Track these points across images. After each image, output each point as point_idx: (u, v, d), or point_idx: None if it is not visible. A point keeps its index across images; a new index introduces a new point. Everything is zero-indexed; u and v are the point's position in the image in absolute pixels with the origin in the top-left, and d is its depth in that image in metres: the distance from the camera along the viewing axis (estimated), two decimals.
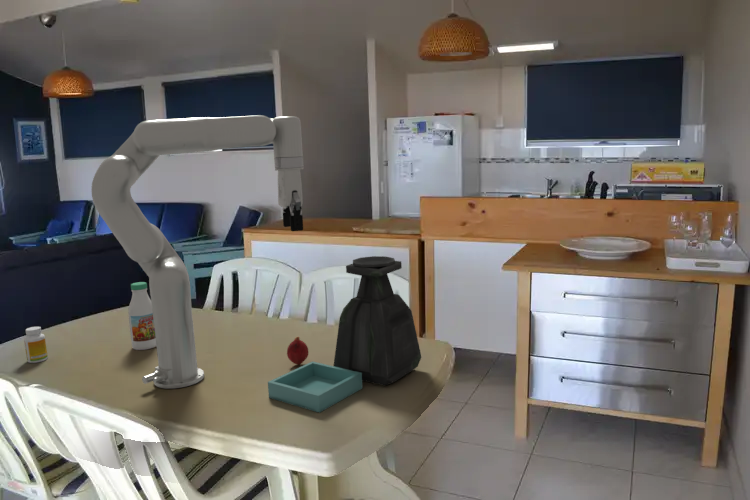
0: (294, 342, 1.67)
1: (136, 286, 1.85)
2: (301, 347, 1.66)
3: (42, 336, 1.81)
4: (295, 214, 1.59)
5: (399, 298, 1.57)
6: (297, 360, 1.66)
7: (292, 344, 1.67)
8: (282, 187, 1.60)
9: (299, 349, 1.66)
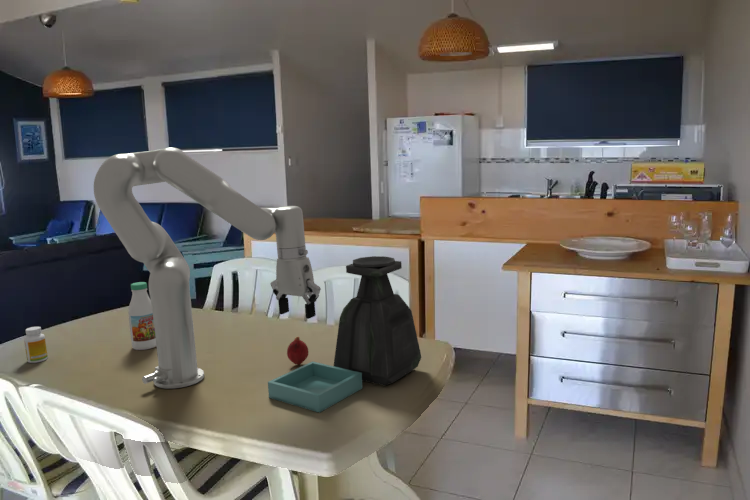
0: (294, 342, 1.67)
1: (136, 286, 1.85)
2: (301, 347, 1.66)
3: (42, 336, 1.81)
4: None
5: (399, 298, 1.57)
6: (297, 360, 1.66)
7: (292, 344, 1.67)
8: None
9: (299, 348, 1.66)
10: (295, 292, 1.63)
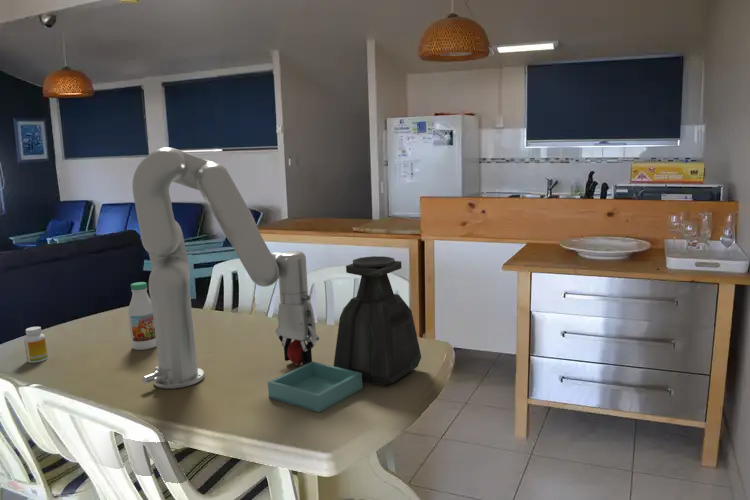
0: (294, 342, 1.67)
1: (136, 286, 1.85)
2: (301, 347, 1.66)
3: (42, 336, 1.81)
4: None
5: (399, 298, 1.57)
6: (297, 360, 1.66)
7: (292, 344, 1.67)
8: None
9: (299, 349, 1.66)
10: (296, 336, 1.65)
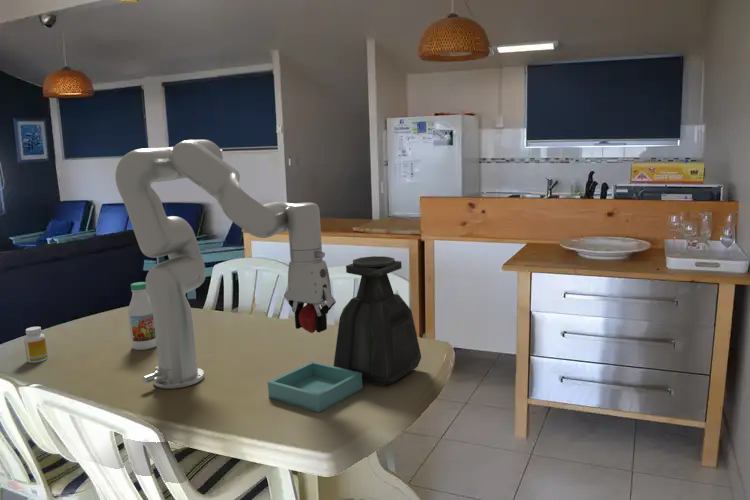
0: (307, 307, 1.47)
1: (136, 286, 1.85)
2: (315, 312, 1.46)
3: (42, 336, 1.81)
4: None
5: (399, 298, 1.57)
6: (311, 327, 1.46)
7: (304, 309, 1.47)
8: None
9: (313, 313, 1.46)
10: (310, 299, 1.44)
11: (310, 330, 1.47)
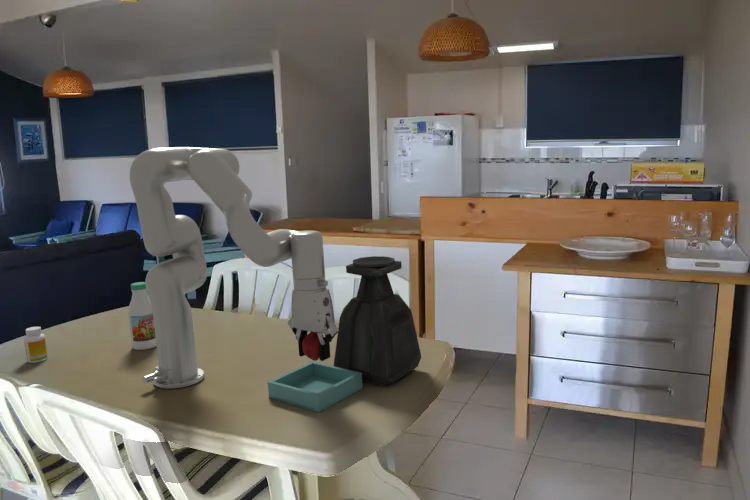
0: (311, 335, 1.46)
1: (136, 286, 1.85)
2: (319, 340, 1.45)
3: (42, 336, 1.81)
4: None
5: (399, 298, 1.57)
6: (314, 355, 1.45)
7: (308, 337, 1.46)
8: None
9: (316, 342, 1.45)
10: (313, 328, 1.44)
11: (313, 358, 1.46)
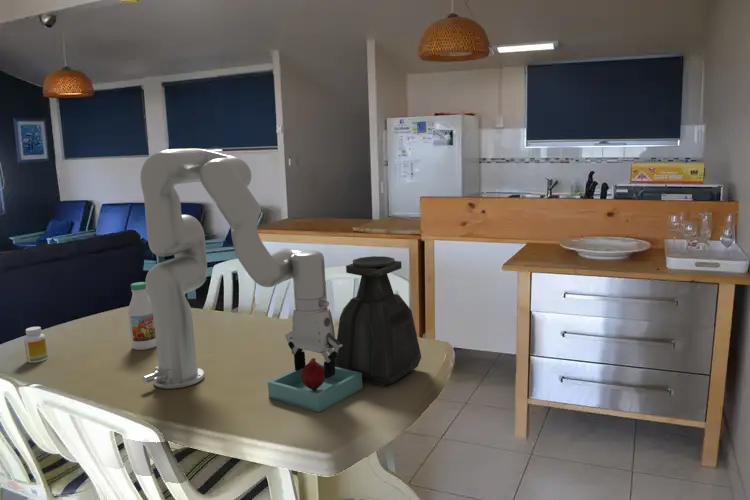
0: (310, 365, 1.48)
1: (136, 286, 1.85)
2: (318, 371, 1.47)
3: (42, 336, 1.81)
4: None
5: (399, 298, 1.57)
6: (313, 385, 1.47)
7: (307, 367, 1.48)
8: None
9: (315, 372, 1.47)
10: (313, 348, 1.45)
11: (312, 388, 1.48)
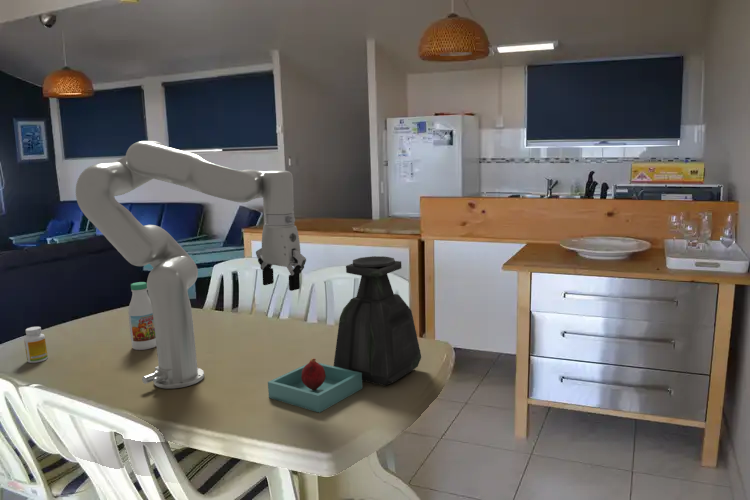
0: (310, 365, 1.48)
1: (136, 286, 1.85)
2: (318, 371, 1.47)
3: (42, 336, 1.81)
4: None
5: (399, 298, 1.57)
6: (313, 385, 1.47)
7: (307, 367, 1.48)
8: None
9: (315, 372, 1.47)
10: (279, 262, 1.53)
11: (312, 388, 1.48)
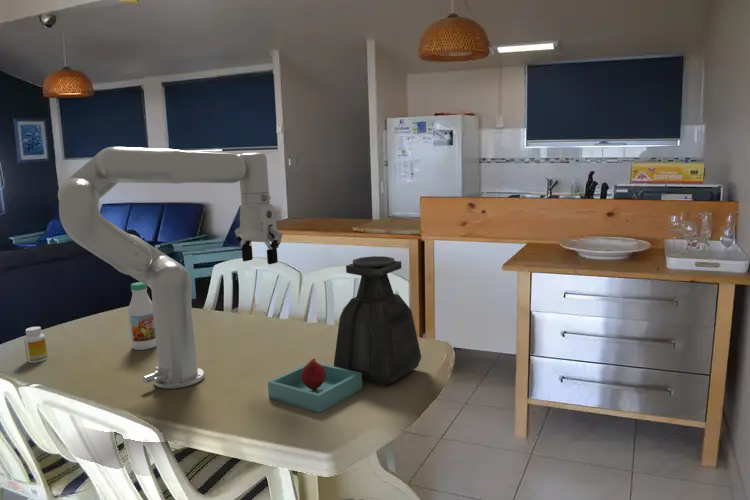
0: (310, 365, 1.48)
1: (136, 286, 1.85)
2: (318, 371, 1.47)
3: (42, 336, 1.81)
4: None
5: (399, 298, 1.57)
6: (313, 385, 1.47)
7: (307, 367, 1.48)
8: None
9: (315, 372, 1.47)
10: (257, 238, 1.64)
11: (312, 388, 1.48)
